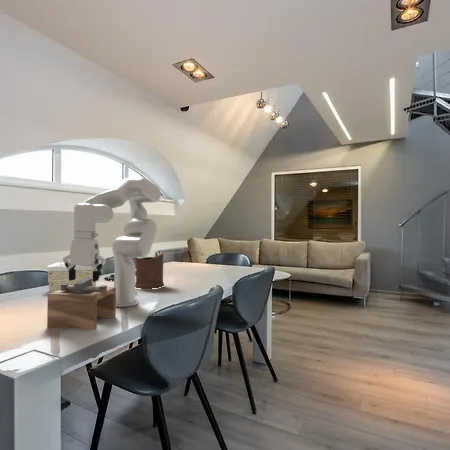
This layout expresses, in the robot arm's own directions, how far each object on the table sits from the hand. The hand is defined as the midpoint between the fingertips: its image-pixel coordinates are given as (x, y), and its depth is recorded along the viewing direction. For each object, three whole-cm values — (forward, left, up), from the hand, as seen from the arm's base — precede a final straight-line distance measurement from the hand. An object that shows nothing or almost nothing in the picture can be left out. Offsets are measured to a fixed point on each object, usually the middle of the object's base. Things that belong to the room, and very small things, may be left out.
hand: (83, 280), depth 120 cm
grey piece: (0, 0, -8) cm, 8 cm away
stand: (0, 0, -16) cm, 16 cm away
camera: (-85, -34, -16) cm, 93 cm away
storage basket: (-54, -40, -16) cm, 69 cm away
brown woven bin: (-69, -4, -16) cm, 71 cm away
